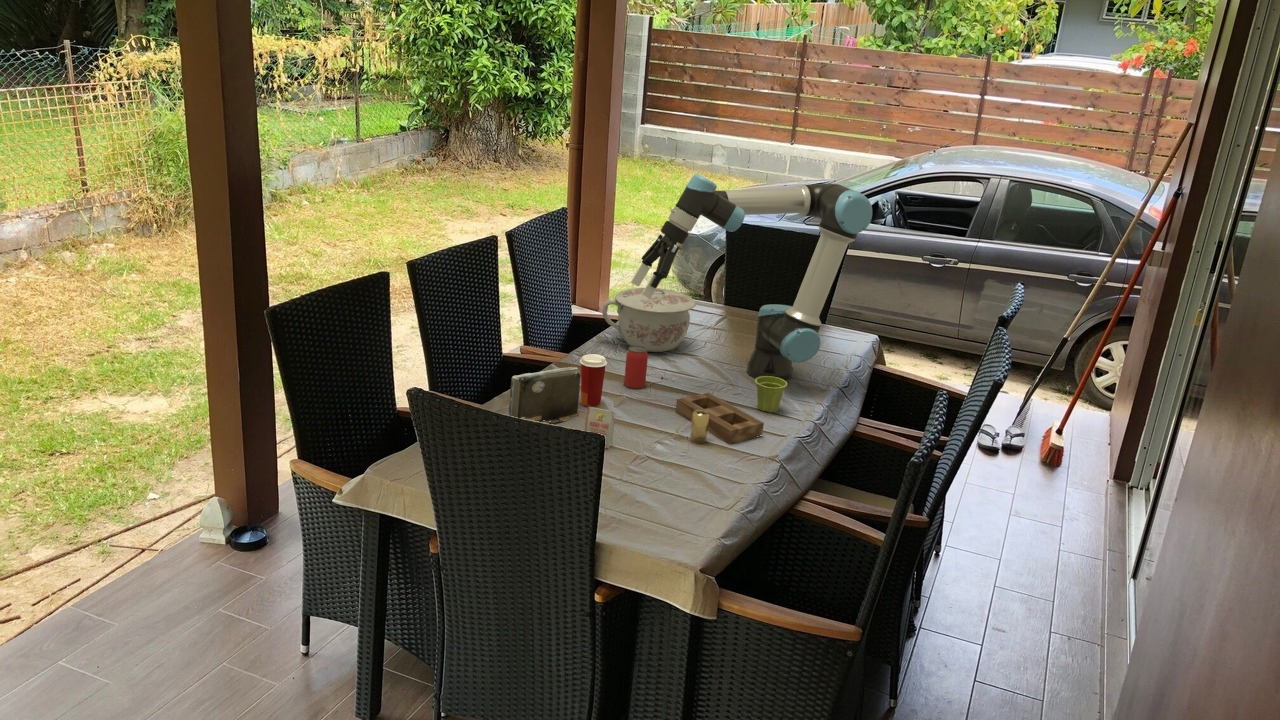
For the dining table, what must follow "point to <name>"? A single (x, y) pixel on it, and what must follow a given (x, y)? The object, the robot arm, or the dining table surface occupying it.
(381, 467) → the dining table surface
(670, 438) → the dining table surface
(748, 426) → the frame
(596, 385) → the paper cup
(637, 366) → the beer can
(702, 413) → the brass bushing
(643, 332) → the chamber pot
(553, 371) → the radio
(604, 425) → the tea bag
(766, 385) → the plant pot
